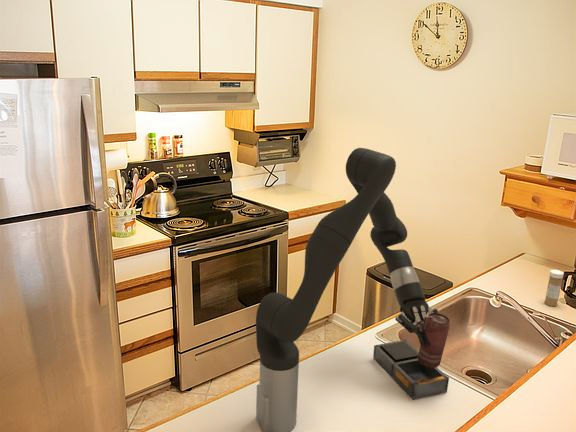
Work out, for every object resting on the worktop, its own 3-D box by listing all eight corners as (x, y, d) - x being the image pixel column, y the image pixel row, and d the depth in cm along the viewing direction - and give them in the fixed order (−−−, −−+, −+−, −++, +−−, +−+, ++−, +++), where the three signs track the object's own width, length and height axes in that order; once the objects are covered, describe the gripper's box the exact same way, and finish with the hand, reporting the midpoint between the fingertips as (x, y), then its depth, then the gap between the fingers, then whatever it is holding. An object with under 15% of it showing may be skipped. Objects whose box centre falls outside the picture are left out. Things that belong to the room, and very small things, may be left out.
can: (413, 355, 143) (423, 311, 138) (434, 355, 144) (445, 312, 139) (420, 368, 137) (431, 323, 132) (443, 369, 138) (454, 324, 133)
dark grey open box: (412, 400, 135) (414, 383, 133) (372, 358, 153) (373, 343, 152) (447, 392, 138) (449, 376, 137) (404, 352, 157) (405, 338, 156)
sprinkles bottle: (547, 300, 198) (553, 268, 194) (559, 304, 194) (566, 272, 190) (542, 303, 195) (548, 271, 191) (554, 307, 191) (560, 274, 188)
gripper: (392, 283, 138) (413, 346, 131) (433, 278, 143) (455, 338, 135) (380, 293, 144) (400, 354, 137) (420, 288, 149) (441, 346, 141)
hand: (427, 346), depth 136 cm, fingers closed
